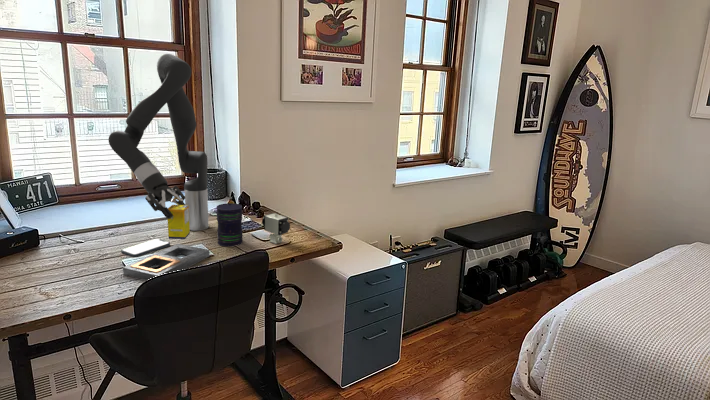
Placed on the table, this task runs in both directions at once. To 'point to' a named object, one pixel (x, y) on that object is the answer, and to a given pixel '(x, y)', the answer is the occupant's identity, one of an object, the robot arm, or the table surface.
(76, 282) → the table surface
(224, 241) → the storage jar
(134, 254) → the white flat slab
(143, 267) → the hole rail
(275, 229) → the pneumatic valve
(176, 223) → the supplement box
